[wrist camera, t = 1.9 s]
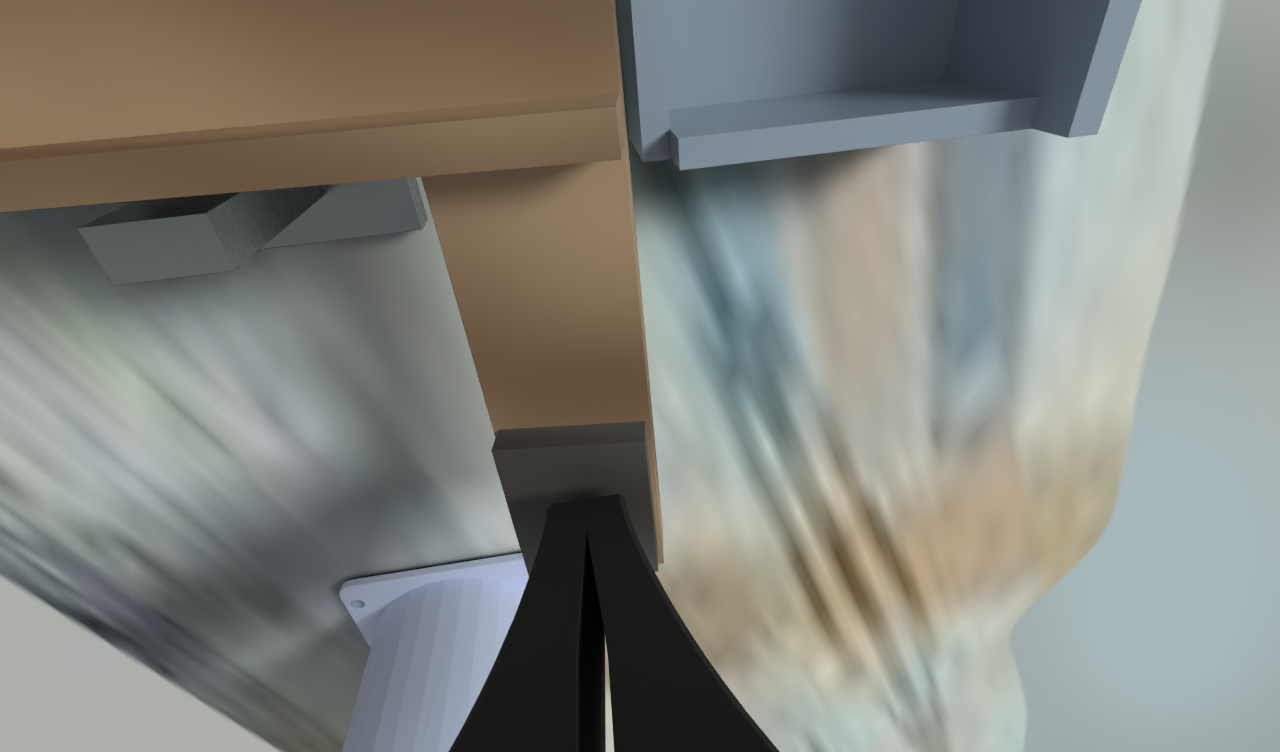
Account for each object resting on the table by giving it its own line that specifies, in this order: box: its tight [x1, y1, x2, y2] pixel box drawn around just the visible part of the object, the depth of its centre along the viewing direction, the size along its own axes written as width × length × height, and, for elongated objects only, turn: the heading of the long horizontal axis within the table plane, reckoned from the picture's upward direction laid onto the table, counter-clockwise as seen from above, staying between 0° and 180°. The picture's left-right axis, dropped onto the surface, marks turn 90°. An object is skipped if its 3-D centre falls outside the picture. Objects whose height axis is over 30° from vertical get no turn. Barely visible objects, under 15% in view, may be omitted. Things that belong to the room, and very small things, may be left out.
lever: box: [0, 0, 664, 576], centre depth 9 cm, size 16×16×3 cm
